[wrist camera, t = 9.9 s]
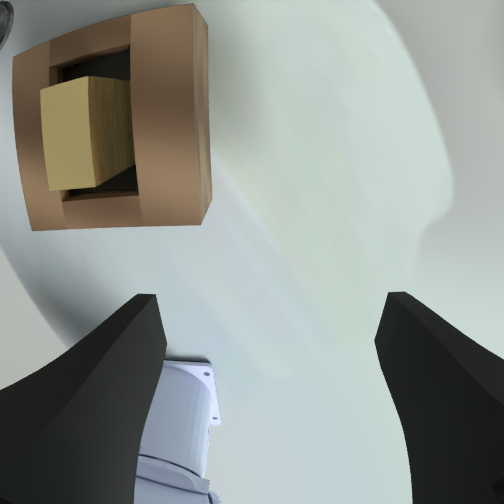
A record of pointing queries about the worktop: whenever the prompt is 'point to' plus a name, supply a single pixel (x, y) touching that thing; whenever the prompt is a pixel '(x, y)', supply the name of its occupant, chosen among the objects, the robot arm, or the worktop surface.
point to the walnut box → (143, 121)
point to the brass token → (86, 131)
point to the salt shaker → (5, 21)
